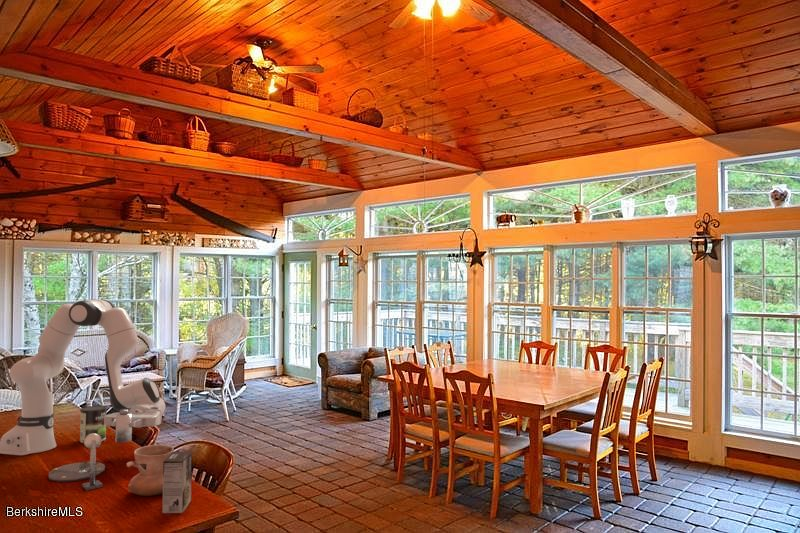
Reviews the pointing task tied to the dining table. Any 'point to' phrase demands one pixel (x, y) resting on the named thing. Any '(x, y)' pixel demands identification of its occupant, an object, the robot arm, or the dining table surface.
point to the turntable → (75, 472)
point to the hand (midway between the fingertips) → (122, 424)
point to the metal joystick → (92, 460)
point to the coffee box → (176, 482)
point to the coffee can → (92, 422)
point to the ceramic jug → (149, 469)
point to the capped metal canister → (123, 426)
